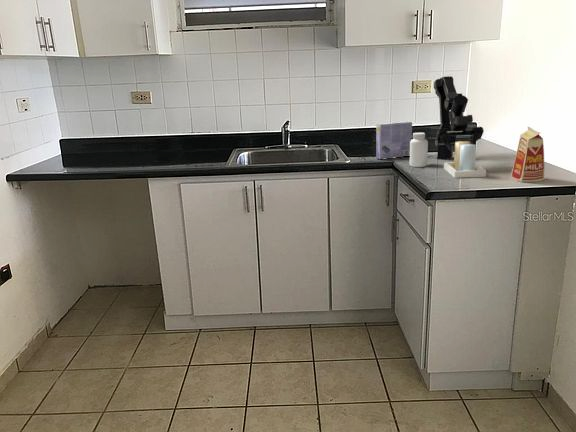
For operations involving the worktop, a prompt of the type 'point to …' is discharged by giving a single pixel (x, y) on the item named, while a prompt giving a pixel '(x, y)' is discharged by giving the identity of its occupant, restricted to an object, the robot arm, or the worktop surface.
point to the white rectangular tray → (462, 174)
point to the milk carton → (529, 158)
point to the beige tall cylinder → (458, 153)
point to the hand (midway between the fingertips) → (462, 149)
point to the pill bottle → (418, 150)
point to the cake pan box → (393, 140)
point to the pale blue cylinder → (467, 157)
